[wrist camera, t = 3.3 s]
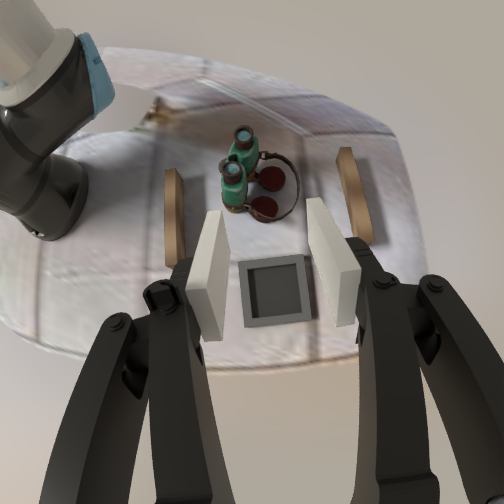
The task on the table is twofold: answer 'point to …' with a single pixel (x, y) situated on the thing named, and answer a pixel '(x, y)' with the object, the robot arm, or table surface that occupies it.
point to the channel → (176, 208)
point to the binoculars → (251, 177)
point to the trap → (274, 291)
